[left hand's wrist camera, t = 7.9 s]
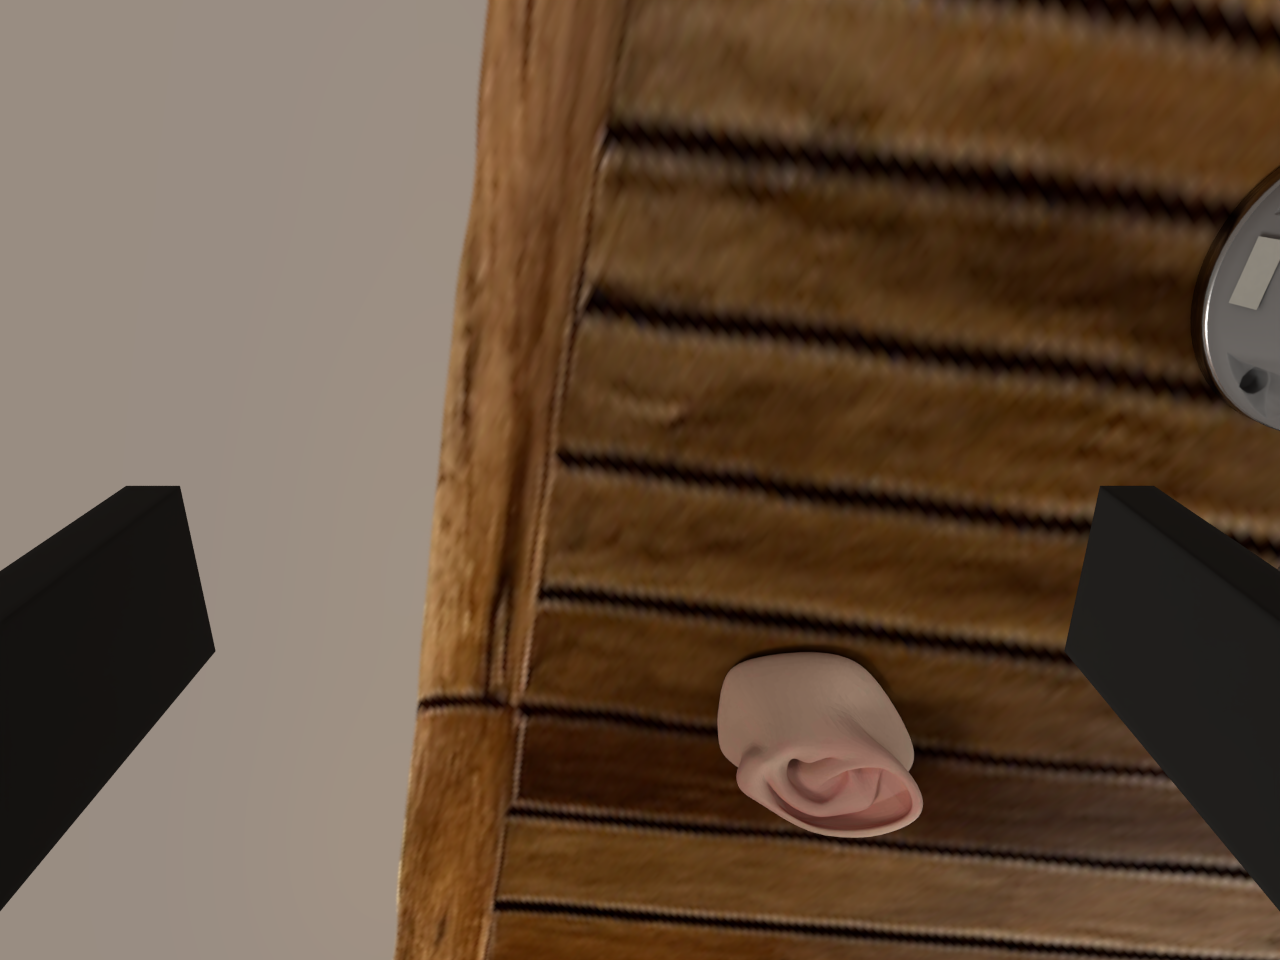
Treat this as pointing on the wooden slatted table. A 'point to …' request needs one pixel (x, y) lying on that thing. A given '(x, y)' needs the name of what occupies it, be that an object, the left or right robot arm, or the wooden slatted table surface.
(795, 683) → the anatomical model
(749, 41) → the wooden slatted table surface
